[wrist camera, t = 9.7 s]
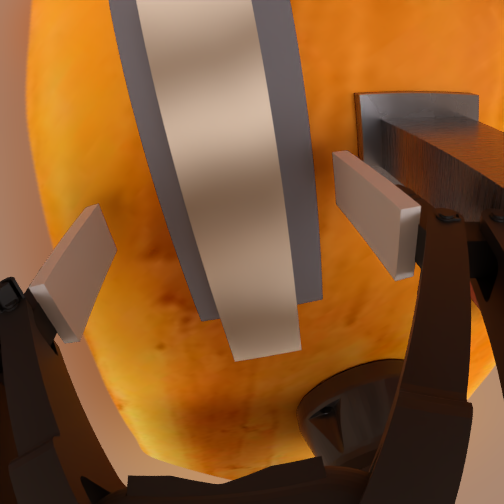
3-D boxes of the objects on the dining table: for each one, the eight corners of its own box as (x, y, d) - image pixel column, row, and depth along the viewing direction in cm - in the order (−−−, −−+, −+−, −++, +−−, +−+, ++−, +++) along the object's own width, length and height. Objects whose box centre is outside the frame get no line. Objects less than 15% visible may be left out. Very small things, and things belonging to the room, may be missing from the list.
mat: (320, 294, 24) (322, 299, 23) (201, 315, 24) (201, 321, 24) (280, -35, 12) (281, -38, 11) (111, 1, 12) (108, -1, 11)
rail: (287, 295, 23) (301, 349, 19) (231, 305, 23) (235, 361, 19) (235, -18, 12) (241, -48, 8) (157, -1, 12) (131, -23, 8)
